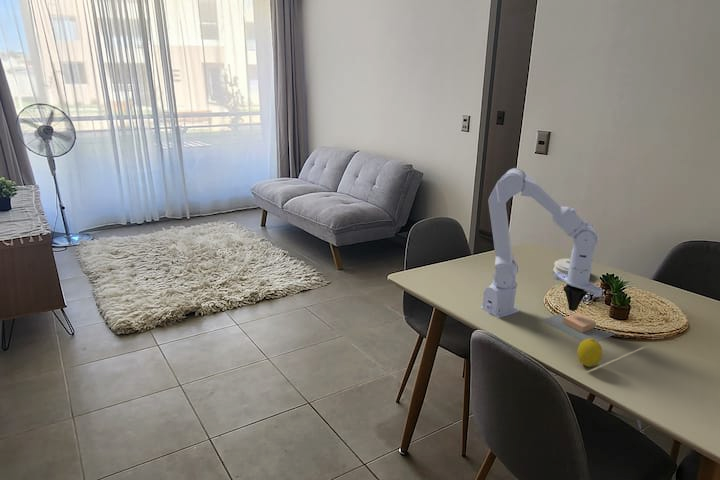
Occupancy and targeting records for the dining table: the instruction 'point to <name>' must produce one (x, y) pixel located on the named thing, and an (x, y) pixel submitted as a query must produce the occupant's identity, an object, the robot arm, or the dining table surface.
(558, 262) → the lid
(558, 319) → the mat
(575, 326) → the tile
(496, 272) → the robot arm
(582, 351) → the lemon
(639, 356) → the dining table surface
